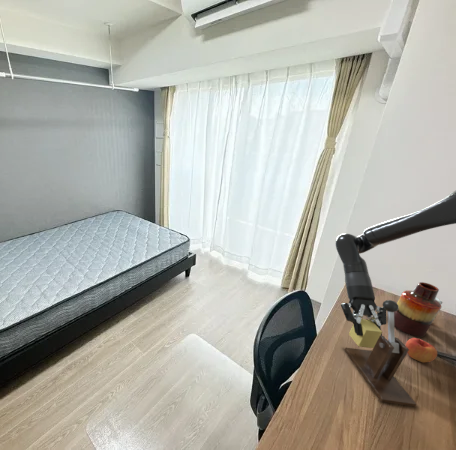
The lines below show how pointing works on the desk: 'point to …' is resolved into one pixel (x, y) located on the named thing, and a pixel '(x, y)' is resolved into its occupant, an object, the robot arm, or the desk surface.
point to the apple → (421, 350)
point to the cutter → (382, 370)
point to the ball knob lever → (391, 323)
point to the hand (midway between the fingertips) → (369, 336)
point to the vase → (417, 310)
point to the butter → (366, 334)
